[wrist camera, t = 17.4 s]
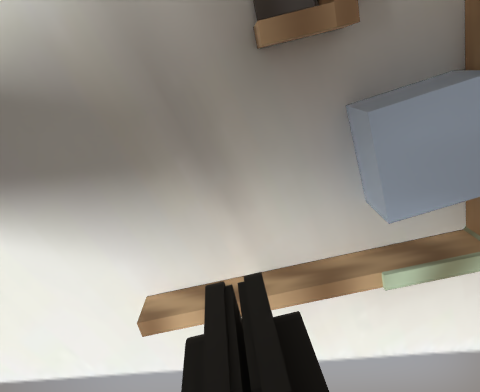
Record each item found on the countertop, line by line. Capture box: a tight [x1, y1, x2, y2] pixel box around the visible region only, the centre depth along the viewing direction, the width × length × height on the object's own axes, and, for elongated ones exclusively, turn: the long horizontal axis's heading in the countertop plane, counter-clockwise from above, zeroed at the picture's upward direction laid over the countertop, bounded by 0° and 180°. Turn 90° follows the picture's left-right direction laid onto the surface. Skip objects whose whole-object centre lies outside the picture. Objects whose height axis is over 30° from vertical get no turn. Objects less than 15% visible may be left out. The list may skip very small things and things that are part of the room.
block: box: [346, 70, 480, 224], centre depth 22 cm, size 7×7×4 cm
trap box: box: [137, 0, 480, 337], centre depth 19 cm, size 26×33×6 cm
